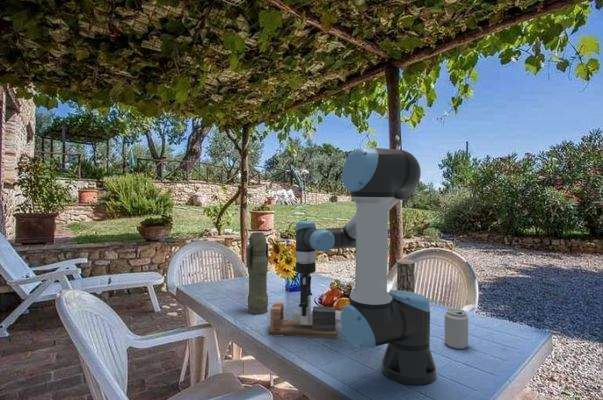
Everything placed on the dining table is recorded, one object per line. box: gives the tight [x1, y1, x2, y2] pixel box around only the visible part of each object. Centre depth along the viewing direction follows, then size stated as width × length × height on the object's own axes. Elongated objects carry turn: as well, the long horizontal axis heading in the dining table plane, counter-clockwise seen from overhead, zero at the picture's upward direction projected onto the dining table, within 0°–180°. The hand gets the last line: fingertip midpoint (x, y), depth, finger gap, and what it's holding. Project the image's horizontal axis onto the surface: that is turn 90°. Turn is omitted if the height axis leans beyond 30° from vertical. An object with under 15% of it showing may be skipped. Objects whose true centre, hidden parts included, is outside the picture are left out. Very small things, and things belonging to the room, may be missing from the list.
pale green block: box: [292, 300, 313, 325], centre depth 134 cm, size 4×16×8 cm, turn 84°
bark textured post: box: [396, 258, 416, 293], centre depth 143 cm, size 7×7×25 cm
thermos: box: [245, 232, 270, 316], centre depth 156 cm, size 9×12×35 cm
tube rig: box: [268, 301, 338, 339], centre depth 134 cm, size 12×25×9 cm, turn 84°
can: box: [444, 308, 469, 350], centre depth 121 cm, size 8×8×12 cm
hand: (305, 318), depth 134 cm, fingers open, 12 cm apart
